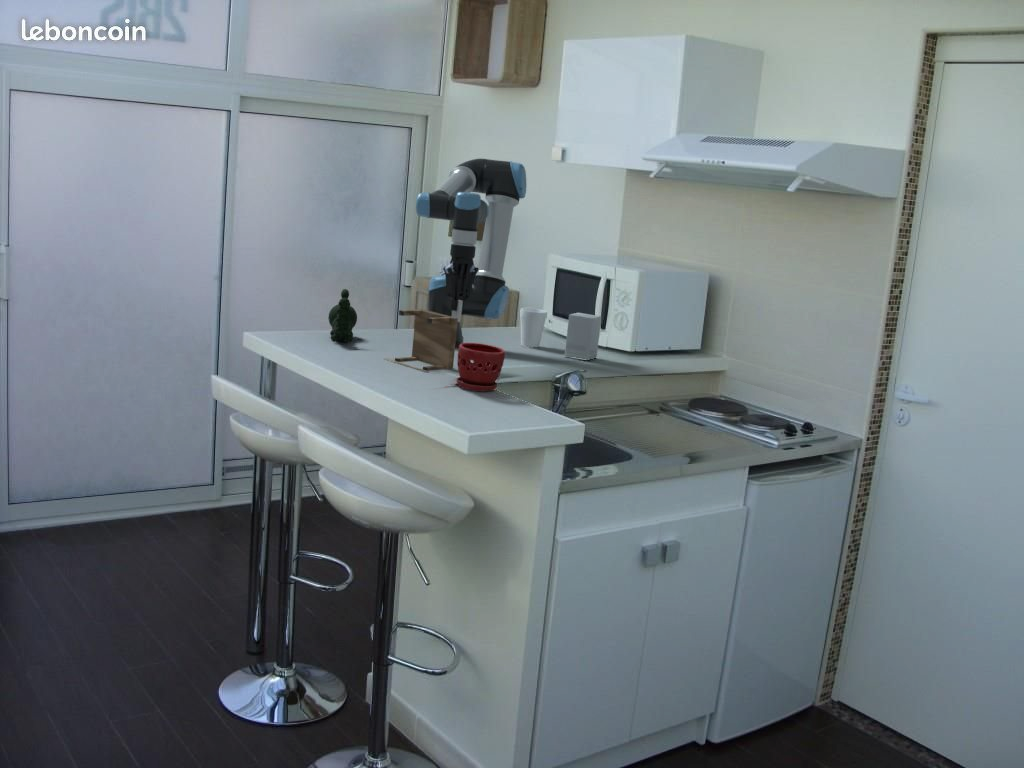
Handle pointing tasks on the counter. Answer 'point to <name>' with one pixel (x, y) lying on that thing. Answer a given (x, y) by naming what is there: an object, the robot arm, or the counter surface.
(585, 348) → the supplement box
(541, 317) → the foam cup
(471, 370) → the plant pot
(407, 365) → the oak batten
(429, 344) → the footstool
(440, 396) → the counter surface
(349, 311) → the toy figurine
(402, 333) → the counter surface
